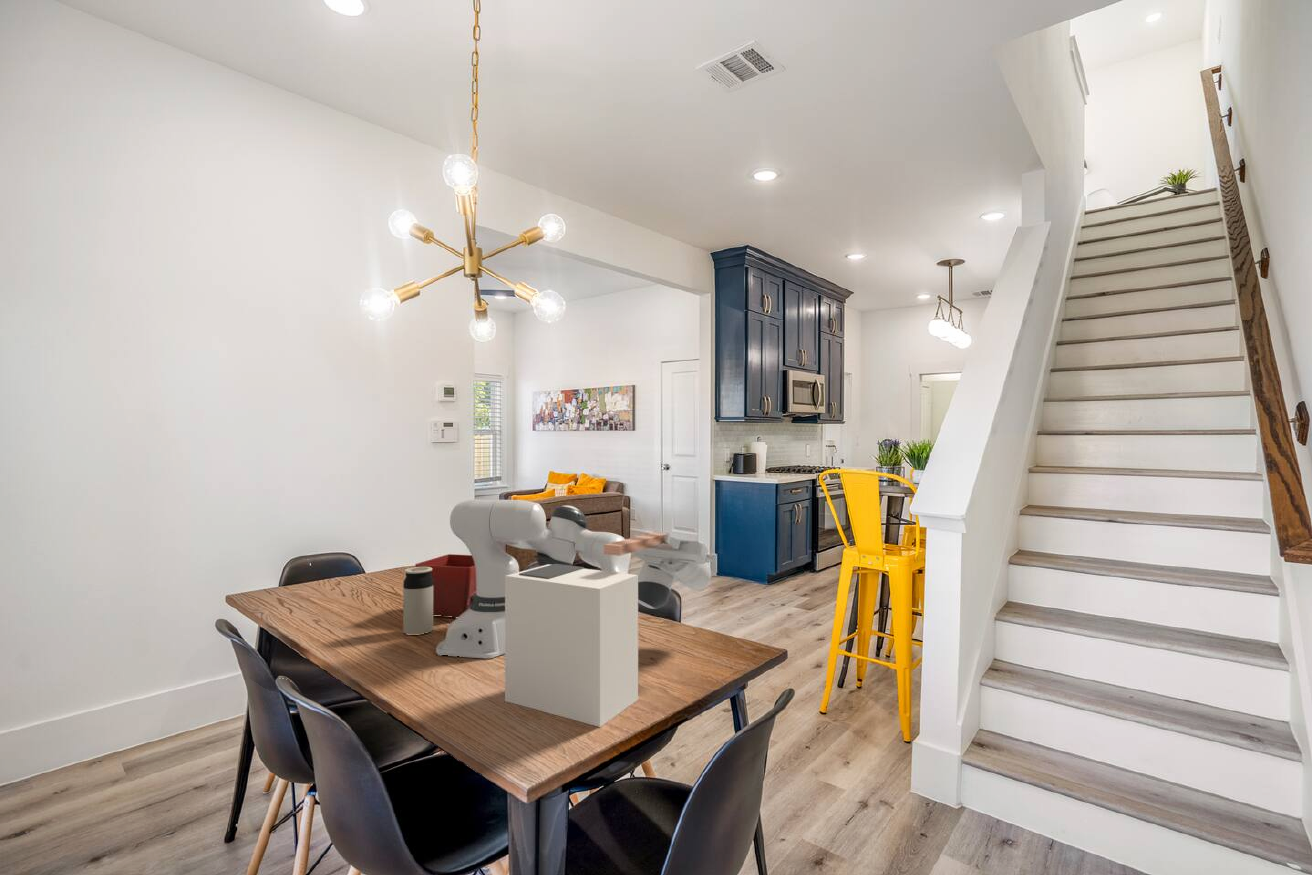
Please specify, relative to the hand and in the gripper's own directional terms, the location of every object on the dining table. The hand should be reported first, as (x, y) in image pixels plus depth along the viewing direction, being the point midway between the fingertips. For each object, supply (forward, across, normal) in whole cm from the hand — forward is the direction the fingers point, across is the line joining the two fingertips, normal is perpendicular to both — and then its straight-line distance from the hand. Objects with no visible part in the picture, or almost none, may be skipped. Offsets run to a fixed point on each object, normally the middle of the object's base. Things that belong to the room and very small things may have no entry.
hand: (655, 536), depth 142 cm
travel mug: (-9, +74, -32) cm, 80 cm away
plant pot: (-26, +79, -22) cm, 86 cm away
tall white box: (+5, +7, -39) cm, 40 cm away
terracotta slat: (+6, 0, -5) cm, 8 cm away
